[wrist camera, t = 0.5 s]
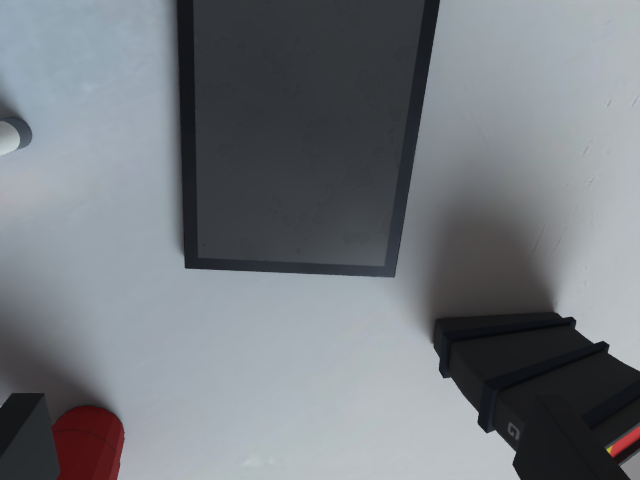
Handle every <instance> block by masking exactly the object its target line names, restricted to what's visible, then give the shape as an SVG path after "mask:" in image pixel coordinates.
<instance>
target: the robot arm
mask: <svg viewBox="0 0 640 480" xmlns="http://www.w3.org/2000/svg"><path fill="white" fill-rule="evenodd" d="M512 465H513V467H514V468H515V470H516V472H517V474H518V476H519V477H520V479H521V480H630V478H629V477H628V476H627V475H626V474H625V472H624V471H623V470H622V469H621V468H620V466H619V465H618V464H617V462H616V461H615V460H614V459H613V457H612V456H611V455H610V454H609V452H608V451H607V450H606V449H605V447H604V446H603V445H602V444H601V442H600V441H599V440H598V439H597V438H596V436H595V435H594V434H593V433H592V431H591V430H590V429H589V428H588V426H587V425H586V424H585V423H584V421H583V420H582V419H581V418H580V416H579V415H578V414H577V413H576V412H575V410H574V409H573V408H572V407H571V405H570V404H569V403H568V402H567V400H566V399H565V398H564V397H563V395H562V394H561V393H535V395H534V398H533V401H532V405H531V408H530V411H529V414H528V417H527V420H526V423H525V426H524V430H523V433H522V436H521V439H520V442H519V445H518V448H517V451H516V455H515V458H514V461H513V464H512ZM60 472H61V471H60V466H59V461H58V457H57V452H56V447H55V442H54V438H53V433H52V428H51V423H50V419H49V414H48V409H47V404H46V400H45V395H44V393H12V394H11V395H10V396H9V398H8V399H7V400H6V402H5V403H4V404H3V405H2V407H1V408H0V480H57V478H58V476H59V474H60Z"/></svg>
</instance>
